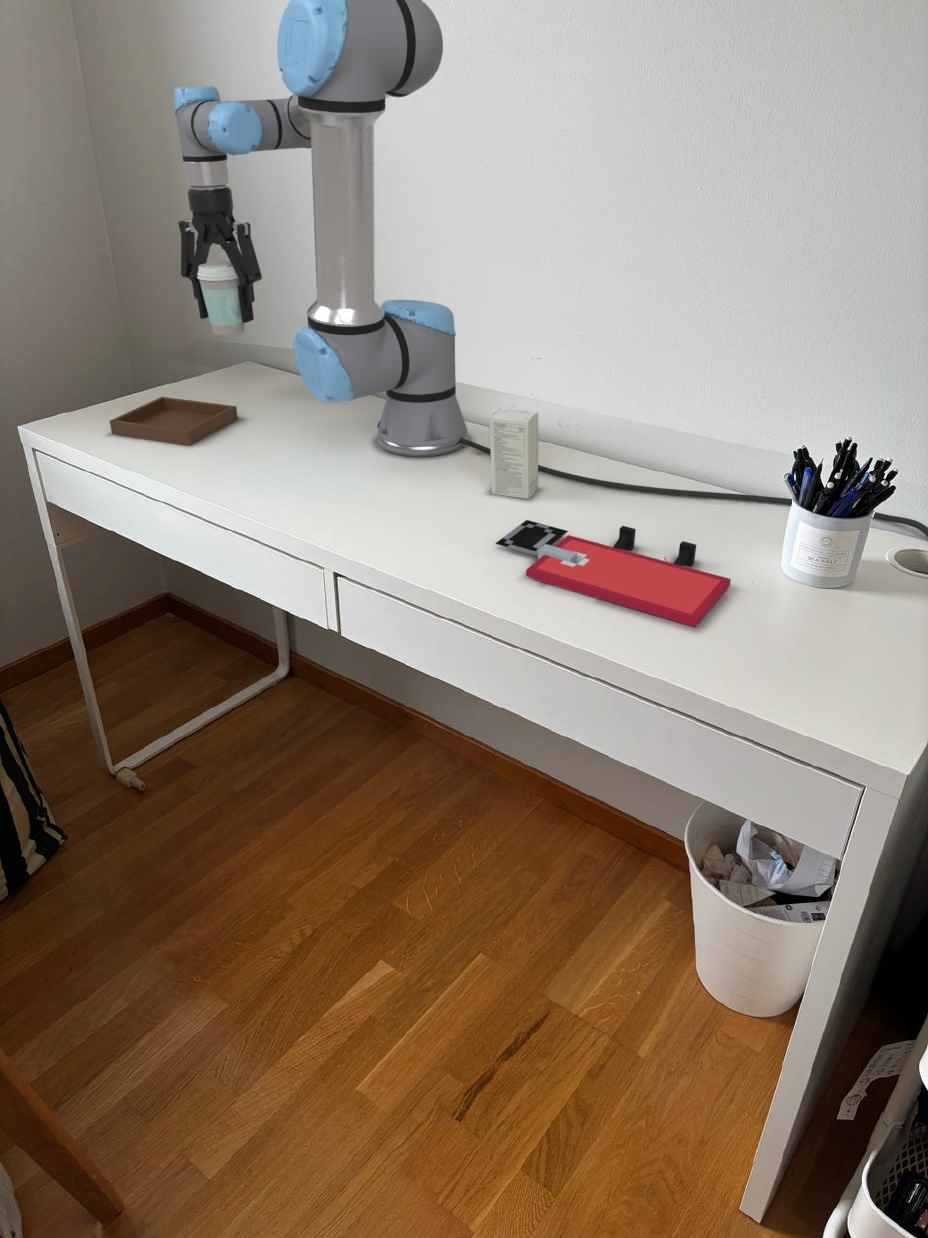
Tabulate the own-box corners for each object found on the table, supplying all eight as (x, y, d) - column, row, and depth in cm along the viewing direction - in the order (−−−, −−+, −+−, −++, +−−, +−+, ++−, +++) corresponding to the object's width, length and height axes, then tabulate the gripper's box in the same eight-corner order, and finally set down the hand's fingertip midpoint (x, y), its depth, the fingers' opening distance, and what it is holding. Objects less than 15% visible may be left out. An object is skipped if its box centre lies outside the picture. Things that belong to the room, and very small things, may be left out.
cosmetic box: (538, 489, 145) (540, 411, 139) (527, 500, 142) (529, 421, 135) (500, 483, 147) (500, 406, 141) (489, 493, 144) (488, 415, 138)
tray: (238, 419, 175) (236, 406, 174) (189, 445, 164) (187, 431, 162) (164, 409, 181) (161, 396, 179) (112, 434, 169) (109, 420, 168)
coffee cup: (229, 339, 175) (220, 271, 168) (195, 333, 179) (185, 266, 172) (261, 329, 181) (253, 262, 175) (228, 323, 185) (219, 258, 179)
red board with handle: (533, 520, 135) (475, 564, 124) (533, 502, 133) (475, 545, 123) (739, 576, 121) (694, 630, 110) (742, 556, 119) (697, 609, 109)
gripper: (272, 186, 166) (286, 318, 178) (172, 182, 173) (191, 310, 185) (248, 191, 160) (265, 328, 172) (145, 187, 167) (167, 318, 179)
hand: (227, 318), depth 178 cm, fingers closed on coffee cup, 9 cm apart
